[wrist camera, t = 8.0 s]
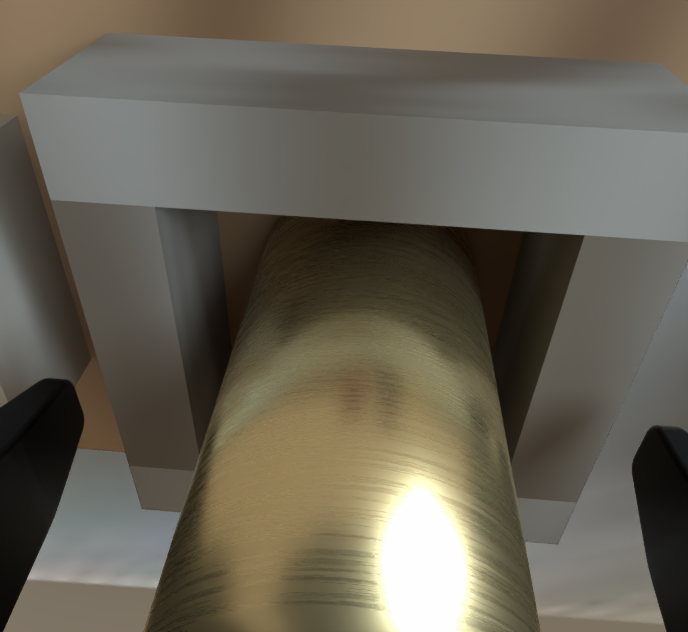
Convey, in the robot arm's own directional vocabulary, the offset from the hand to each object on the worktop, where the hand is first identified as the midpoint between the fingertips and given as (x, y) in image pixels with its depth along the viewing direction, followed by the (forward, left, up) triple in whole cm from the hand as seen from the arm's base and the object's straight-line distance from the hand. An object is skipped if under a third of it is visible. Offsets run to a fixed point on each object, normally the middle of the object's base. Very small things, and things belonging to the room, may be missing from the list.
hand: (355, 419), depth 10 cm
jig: (+3, 0, -6) cm, 6 cm away
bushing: (0, 0, -4) cm, 4 cm away
